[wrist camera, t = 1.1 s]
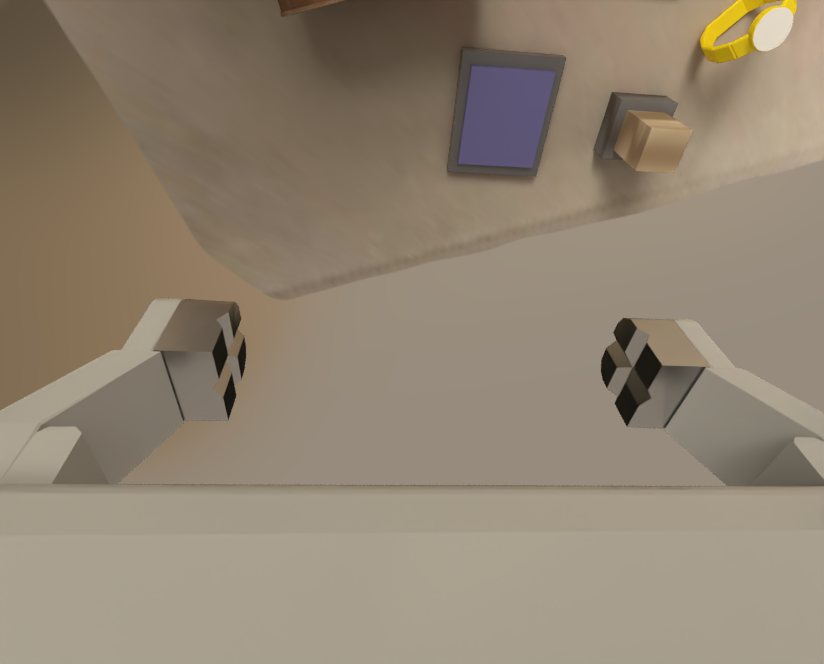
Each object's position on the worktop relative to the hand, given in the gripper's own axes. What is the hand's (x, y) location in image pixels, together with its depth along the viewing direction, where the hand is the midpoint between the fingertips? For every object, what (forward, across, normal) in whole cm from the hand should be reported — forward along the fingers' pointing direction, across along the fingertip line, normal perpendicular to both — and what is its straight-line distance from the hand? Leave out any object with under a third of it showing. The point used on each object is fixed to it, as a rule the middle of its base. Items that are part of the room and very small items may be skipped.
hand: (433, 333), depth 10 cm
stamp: (+37, -22, +4) cm, 43 cm away
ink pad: (+37, -10, +4) cm, 38 cm away
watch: (+37, -27, -4) cm, 46 cm away
